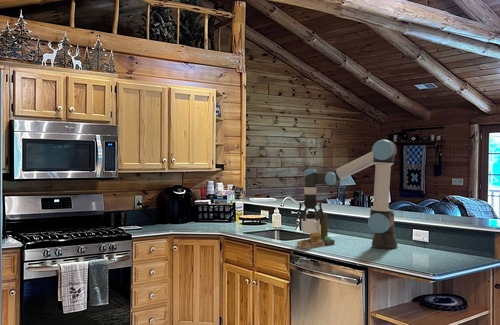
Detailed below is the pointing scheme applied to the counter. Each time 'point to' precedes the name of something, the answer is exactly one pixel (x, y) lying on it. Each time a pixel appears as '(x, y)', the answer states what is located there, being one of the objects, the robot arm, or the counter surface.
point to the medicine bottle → (310, 224)
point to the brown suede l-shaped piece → (315, 241)
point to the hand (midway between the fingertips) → (310, 229)
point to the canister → (323, 224)
